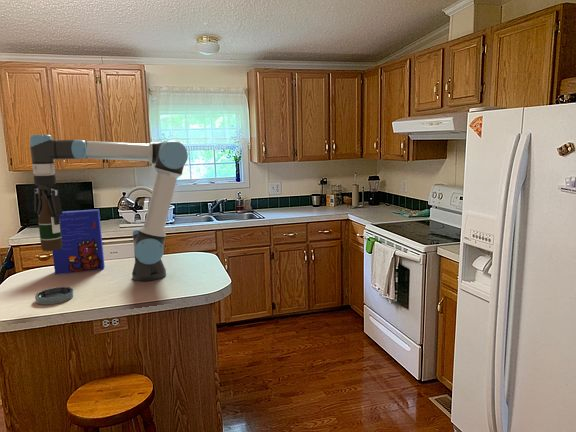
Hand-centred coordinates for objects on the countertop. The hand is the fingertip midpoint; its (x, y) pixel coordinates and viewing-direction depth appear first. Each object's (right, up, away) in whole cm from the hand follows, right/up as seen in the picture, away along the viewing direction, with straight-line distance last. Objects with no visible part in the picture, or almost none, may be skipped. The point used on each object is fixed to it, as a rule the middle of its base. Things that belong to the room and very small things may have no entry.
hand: (50, 231), depth 170 cm
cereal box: (-9, -21, +42) cm, 48 cm away
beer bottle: (0, -7, +1) cm, 7 cm away
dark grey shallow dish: (0, -28, +3) cm, 28 cm away
